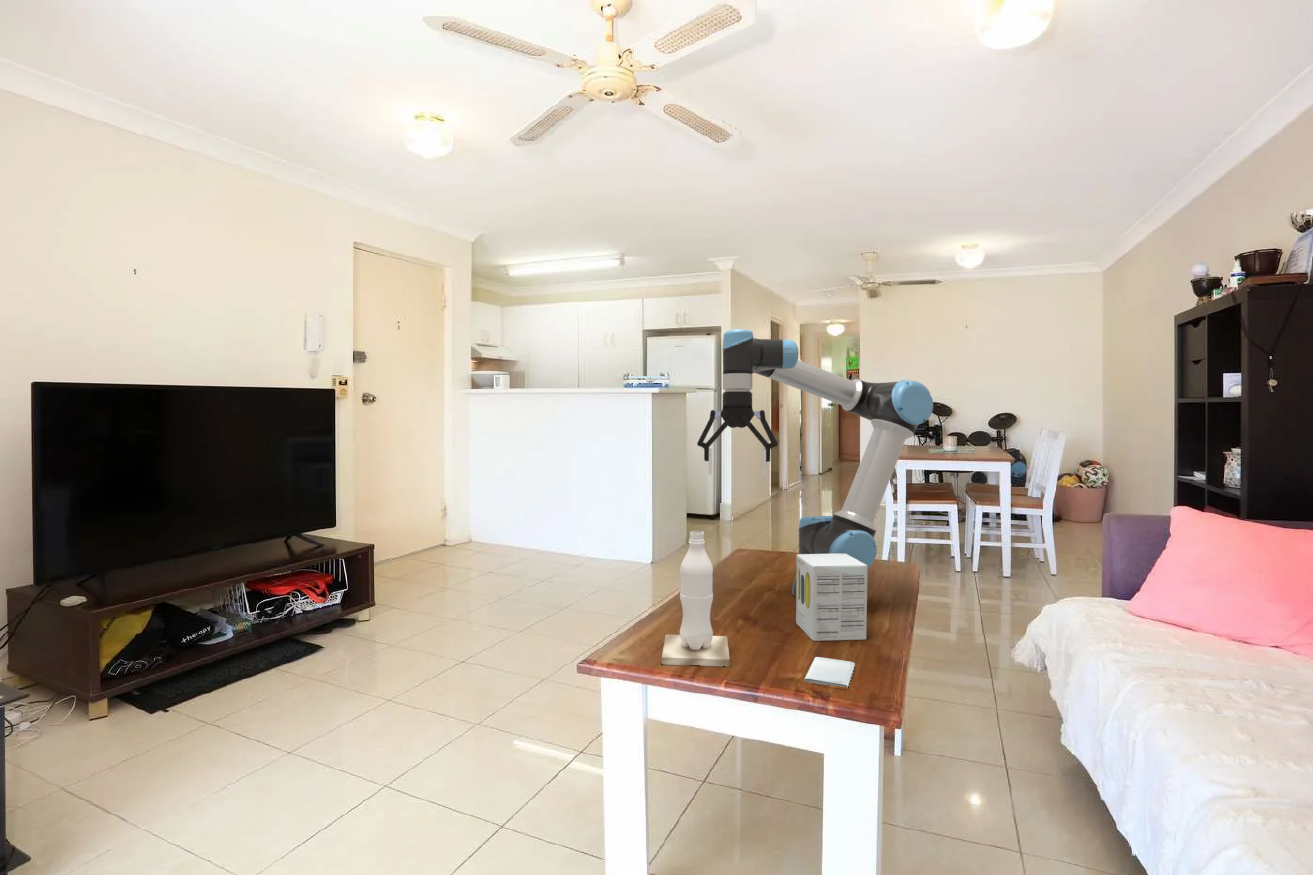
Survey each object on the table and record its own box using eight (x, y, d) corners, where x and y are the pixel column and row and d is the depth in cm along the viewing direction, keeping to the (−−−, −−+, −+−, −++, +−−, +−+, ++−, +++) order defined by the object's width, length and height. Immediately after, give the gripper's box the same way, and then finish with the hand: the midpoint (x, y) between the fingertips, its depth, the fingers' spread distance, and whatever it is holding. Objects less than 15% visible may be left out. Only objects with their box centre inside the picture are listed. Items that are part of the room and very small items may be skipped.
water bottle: (690, 654, 134) (691, 536, 133) (673, 643, 140) (674, 530, 139) (719, 648, 137) (719, 533, 136) (701, 638, 144) (702, 528, 143)
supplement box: (794, 623, 159) (795, 553, 159) (845, 621, 161) (846, 552, 160) (812, 641, 146) (813, 566, 146) (867, 640, 147) (868, 564, 147)
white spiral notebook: (848, 685, 120) (855, 661, 131) (804, 677, 123) (814, 655, 135) (847, 693, 120) (855, 669, 131) (803, 686, 123) (814, 663, 135)
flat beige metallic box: (726, 642, 145) (727, 636, 145) (729, 666, 131) (729, 659, 131) (665, 641, 146) (665, 634, 146) (661, 664, 132) (661, 657, 132)
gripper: (785, 391, 165) (784, 473, 166) (688, 391, 167) (688, 472, 167) (789, 390, 157) (788, 476, 158) (687, 390, 159) (687, 475, 160)
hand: (736, 474), depth 163 cm, fingers open, 13 cm apart
